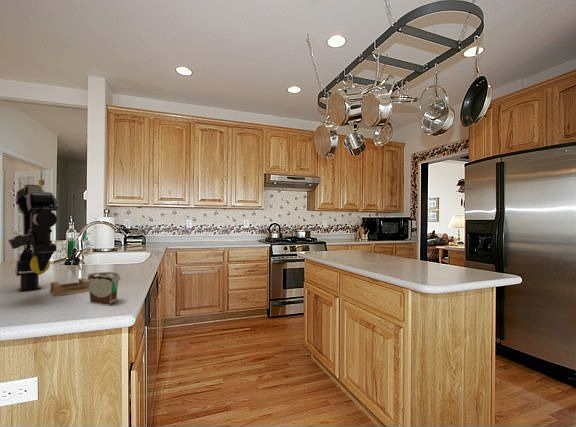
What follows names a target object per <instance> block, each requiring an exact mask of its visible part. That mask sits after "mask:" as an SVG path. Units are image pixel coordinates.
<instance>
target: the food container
mask: <svg viewBox="0 0 576 427" xmlns="http://www.w3.org/2000/svg"><path fill="white" fill-rule="evenodd" d="M87 275H88V276H87V279H86V280H88V281H89V291H88V292H89V303H90V304H98V305H104V306H113V305H114V304H116V303H117V296H118V287H119V281H120V280H121V276H120V274H119V273H118V272H111V271H107V272H106V271H104V272H103V271H102V272H93V273H92V272H91V273H88V274H87Z"/></svg>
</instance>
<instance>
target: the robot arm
mask: <svg viewBox="0 0 576 427" xmlns="http://www.w3.org/2000/svg"><path fill="white" fill-rule="evenodd" d="M15 205H16V206H17V210H18V211H19V212H20V213H21V215H22V234H23V235H22V234H19V235H16V236H15V235H14V236H13V237H12V238H9V239H7V240H8V243H9V245H10V247H11V249H13V250H15V249H18V248H20V247H22V246H23V248H22V249H23V250H22V252H20V254H19V256H18V260H16V263H15V269H14V270H15V271H14V272H15V274H14V275H15V276H16V277H19V276H20V278H19V279H20V281H19V283H20V284H19V285H20V286H19V287H17V289H18V291H19V292H26V291H27V292H28V291H33V290H34V291H35V290H41V289H42V287H41V286H40V285H39V284H40V283H39V278H40V277H39V276H40V275H39V274H37V273H35V272H33V271H32V270H31V268H30V262H31V259H32V258H33V257H34V256H36V257H37V261H38V266H39V270H40V271H44V269H45V267H46V266H47V264H48V262H49V260H51V258H52V256H53V255H54V253H55V252H57V245H56V244H55V243H53V241H52V239H51V238H52V237H51V236H52V232H53V229H52V227H54V226H55V225H56V224H57V222H58V217H57V215H56V214H55V213H54V212H56V211H57V210H58V209H59V204H58V201H57V198H56V195H54V194H53V193H52V192H50V191H44V190H43V189H42V186H41V185H39V184H24V186H23V188H21V189H18V190H17V191H16V194H15ZM45 272H46V271H45ZM45 272H44V273H43V274H45Z"/></svg>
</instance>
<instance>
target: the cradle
mask: <svg viewBox="0 0 576 427" xmlns="http://www.w3.org/2000/svg"><path fill="white" fill-rule="evenodd" d="M86 292H89V280H87V279H86V278H84V277H82V278H78V282H76V281H75V282H69V283H63V284H61V283H59V282H58V281H50V289H49V293H50V294H51V295H52V296H53V297H61V296H68V295H73V294H75V295H76V294H80V293H86Z"/></svg>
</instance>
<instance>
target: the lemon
mask: <svg viewBox="0 0 576 427" xmlns="http://www.w3.org/2000/svg"><path fill="white" fill-rule="evenodd" d="M50 260H51V259H50ZM50 260H49V262H48V264H47V266H46V267H45V269H44V271H40V270H39V266H38V261H37V257H36V256H34V257H33V258H32V259H31V262H30V268H31V270H32V271H33V272H35V273H37V274H39V276H41V275H42V274H45V273H44V272H47V271H48V270H49V268H50V266H51V261H50Z"/></svg>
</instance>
